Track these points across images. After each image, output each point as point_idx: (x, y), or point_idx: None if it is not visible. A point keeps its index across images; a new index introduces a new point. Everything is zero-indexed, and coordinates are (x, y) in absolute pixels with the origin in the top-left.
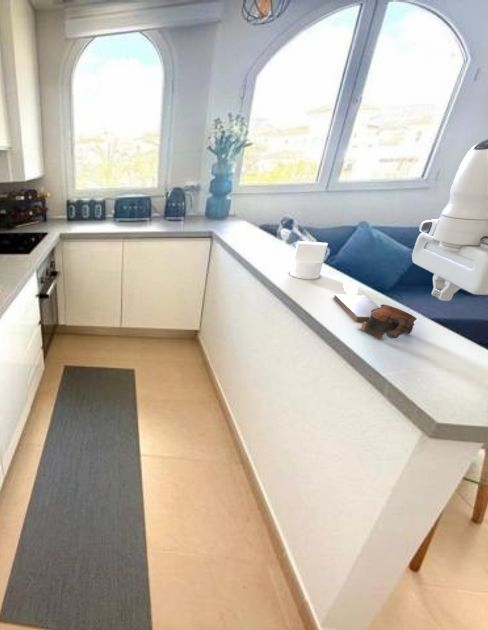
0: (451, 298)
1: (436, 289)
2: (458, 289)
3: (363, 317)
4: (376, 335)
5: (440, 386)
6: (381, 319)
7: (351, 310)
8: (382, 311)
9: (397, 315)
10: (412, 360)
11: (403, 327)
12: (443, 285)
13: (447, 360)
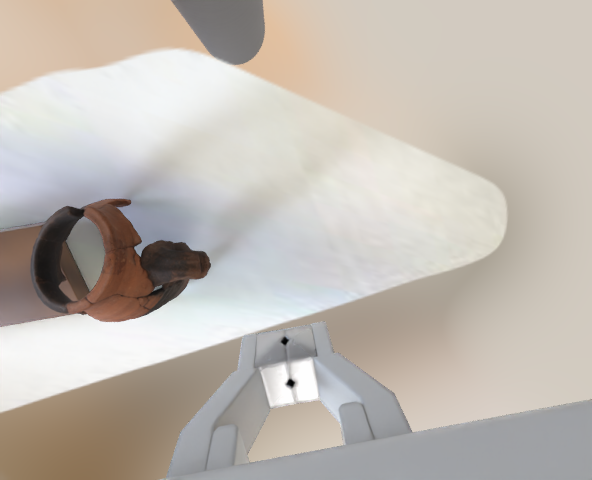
0: (326, 327)
1: (278, 404)
2: (370, 378)
3: (79, 298)
4: (187, 281)
5: (394, 210)
6: (153, 304)
7: (37, 319)
8: (117, 313)
9: (133, 280)
10: (288, 229)
11: (203, 268)
12: (252, 401)
13: (259, 151)
